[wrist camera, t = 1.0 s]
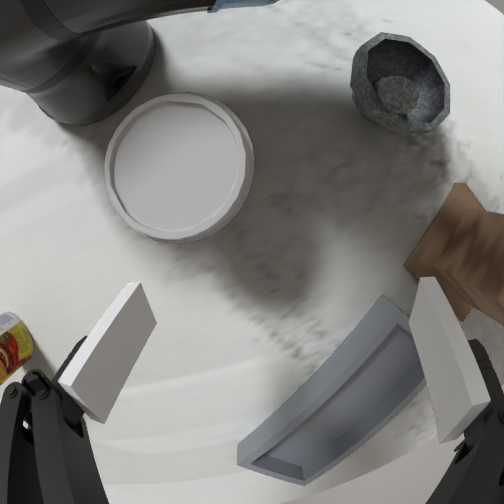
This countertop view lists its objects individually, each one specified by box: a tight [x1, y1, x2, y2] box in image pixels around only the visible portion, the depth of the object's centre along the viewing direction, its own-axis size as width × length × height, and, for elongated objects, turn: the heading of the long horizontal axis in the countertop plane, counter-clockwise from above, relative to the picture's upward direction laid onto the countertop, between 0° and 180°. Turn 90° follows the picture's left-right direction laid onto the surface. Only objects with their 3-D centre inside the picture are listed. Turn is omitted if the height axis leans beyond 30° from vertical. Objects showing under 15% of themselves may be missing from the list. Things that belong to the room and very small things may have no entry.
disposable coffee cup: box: [104, 92, 255, 244], centre depth 21 cm, size 10×10×12 cm
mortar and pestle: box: [350, 32, 450, 133], centre depth 20 cm, size 11×9×12 cm
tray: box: [237, 295, 427, 486], centre depth 31 cm, size 28×12×4 cm, turn 144°
